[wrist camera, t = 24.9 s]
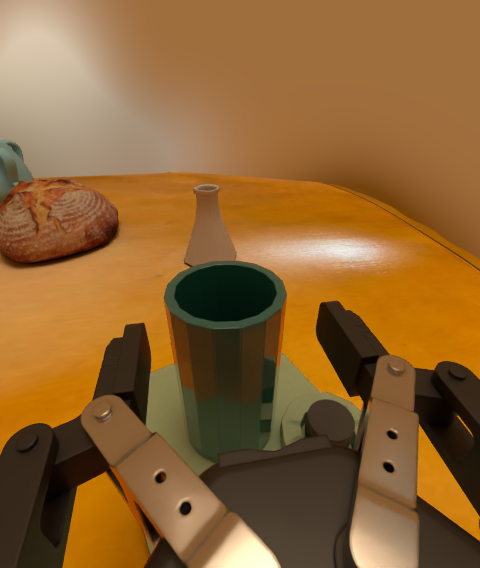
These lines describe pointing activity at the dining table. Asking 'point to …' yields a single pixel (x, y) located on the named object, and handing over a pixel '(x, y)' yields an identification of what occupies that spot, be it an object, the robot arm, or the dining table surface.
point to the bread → (54, 220)
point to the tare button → (330, 421)
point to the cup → (226, 353)
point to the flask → (209, 230)
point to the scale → (287, 424)
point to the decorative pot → (11, 168)
